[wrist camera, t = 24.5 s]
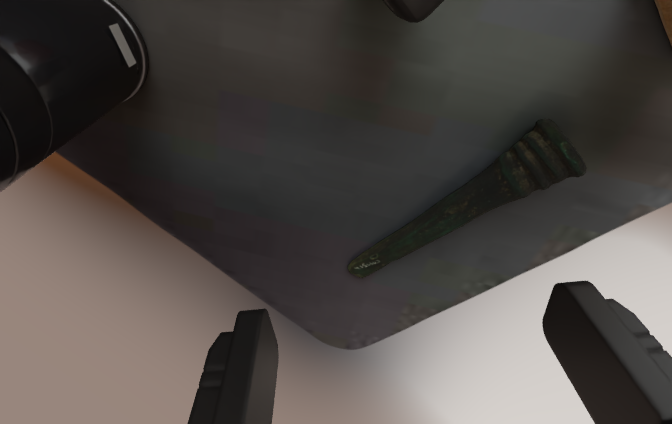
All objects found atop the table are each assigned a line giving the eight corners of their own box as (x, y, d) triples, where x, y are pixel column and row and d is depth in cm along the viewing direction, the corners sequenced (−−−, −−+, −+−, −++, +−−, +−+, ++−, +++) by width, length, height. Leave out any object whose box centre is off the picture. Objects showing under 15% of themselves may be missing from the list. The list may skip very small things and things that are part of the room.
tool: (541, 101, 36) (580, 127, 31) (566, 149, 39) (605, 180, 33) (325, 244, 46) (325, 284, 40) (357, 274, 49) (361, 314, 43)
